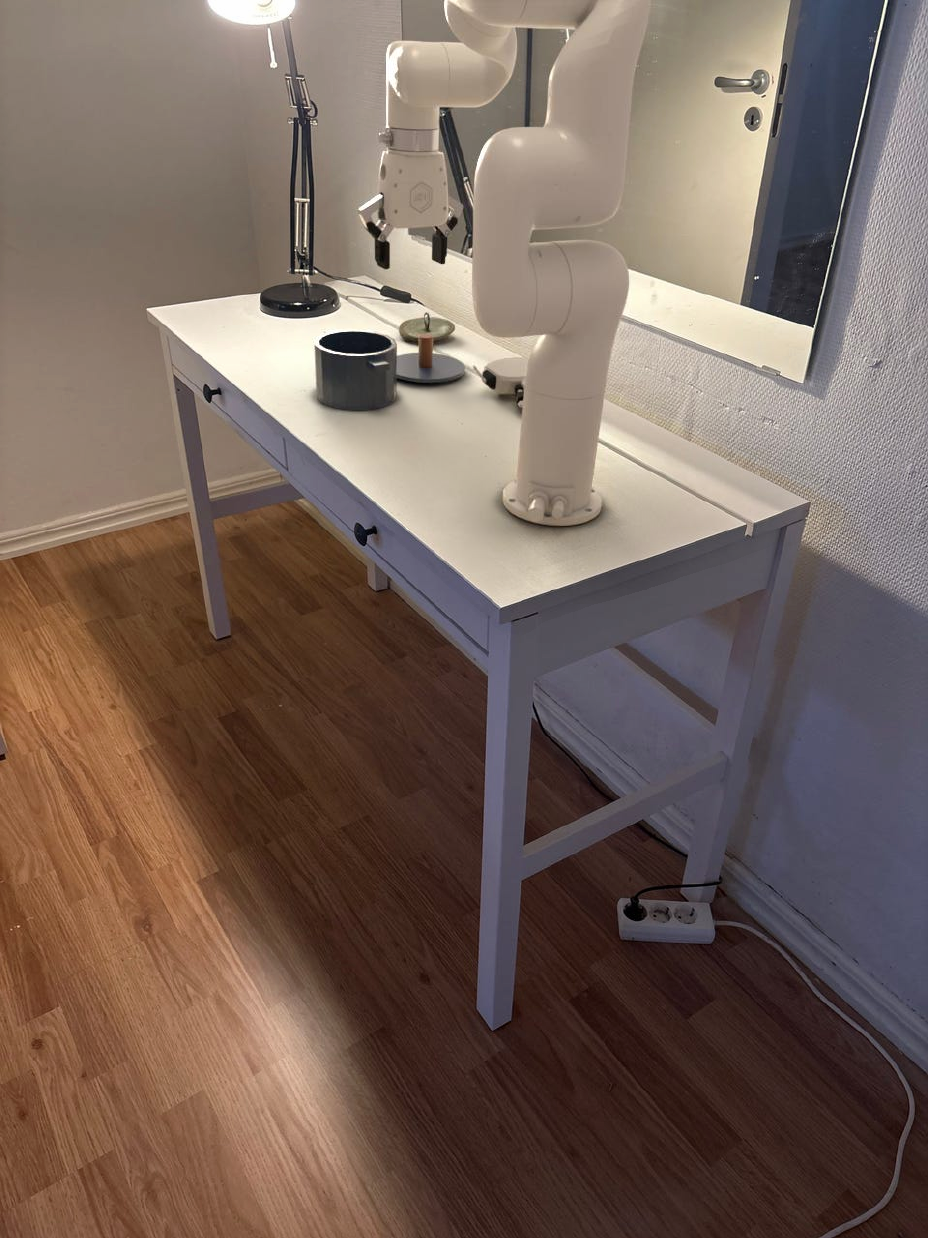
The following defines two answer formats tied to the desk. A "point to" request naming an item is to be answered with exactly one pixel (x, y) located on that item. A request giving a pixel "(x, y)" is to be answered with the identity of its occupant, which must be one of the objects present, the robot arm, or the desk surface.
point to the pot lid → (428, 364)
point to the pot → (355, 369)
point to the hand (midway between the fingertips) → (411, 264)
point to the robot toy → (506, 376)
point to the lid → (426, 327)
